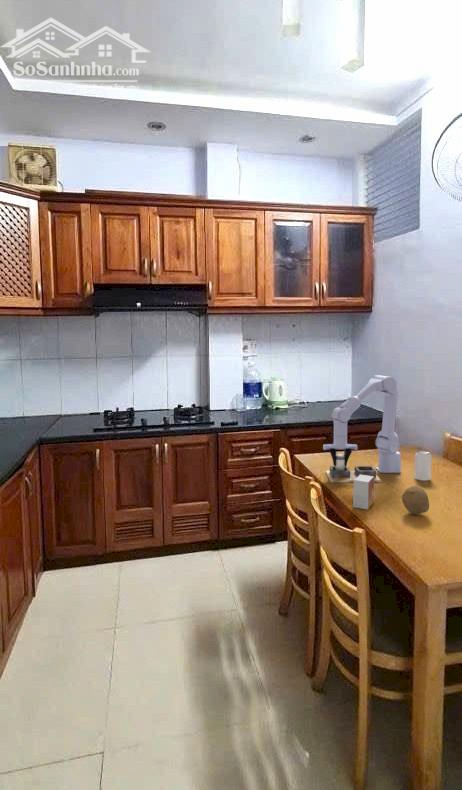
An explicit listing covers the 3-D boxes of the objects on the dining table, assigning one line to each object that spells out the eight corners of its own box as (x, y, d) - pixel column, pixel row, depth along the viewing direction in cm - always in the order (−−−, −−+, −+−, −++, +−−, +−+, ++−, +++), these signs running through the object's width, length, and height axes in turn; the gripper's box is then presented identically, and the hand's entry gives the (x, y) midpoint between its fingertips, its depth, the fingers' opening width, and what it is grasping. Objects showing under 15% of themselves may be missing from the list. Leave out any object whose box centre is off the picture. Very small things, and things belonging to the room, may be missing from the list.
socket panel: (372, 472, 214) (372, 463, 213) (380, 482, 200) (381, 473, 199) (325, 472, 215) (326, 464, 214) (330, 482, 201) (330, 473, 200)
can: (431, 481, 200) (433, 454, 198) (415, 480, 201) (416, 453, 199) (428, 476, 206) (429, 450, 204) (413, 476, 207) (414, 449, 206)
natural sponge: (400, 507, 172) (401, 481, 170) (427, 510, 169) (428, 483, 167) (401, 517, 163) (402, 489, 162) (429, 520, 160) (430, 492, 159)
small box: (367, 510, 170) (368, 482, 168) (352, 507, 173) (353, 479, 171) (374, 503, 177) (374, 476, 175) (359, 500, 180) (359, 473, 178)
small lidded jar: (343, 469, 209) (343, 454, 208) (345, 472, 205) (345, 456, 204) (334, 469, 209) (334, 454, 208) (336, 472, 205) (336, 456, 204)
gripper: (324, 437, 201) (324, 468, 203) (359, 437, 201) (358, 468, 202) (322, 433, 208) (322, 463, 210) (355, 433, 207) (355, 463, 209)
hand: (339, 465), depth 207 cm, fingers closed on small lidded jar, 4 cm apart
